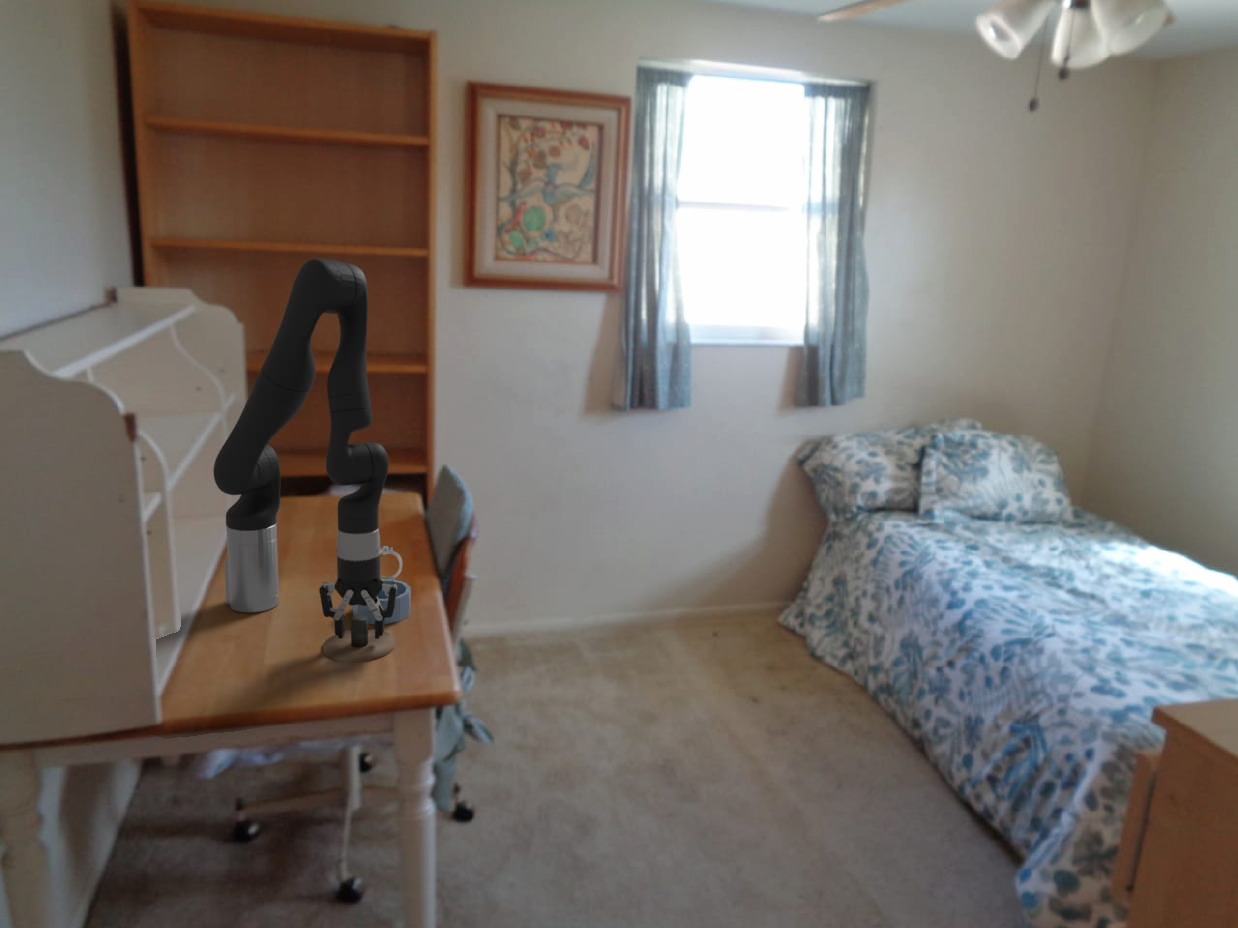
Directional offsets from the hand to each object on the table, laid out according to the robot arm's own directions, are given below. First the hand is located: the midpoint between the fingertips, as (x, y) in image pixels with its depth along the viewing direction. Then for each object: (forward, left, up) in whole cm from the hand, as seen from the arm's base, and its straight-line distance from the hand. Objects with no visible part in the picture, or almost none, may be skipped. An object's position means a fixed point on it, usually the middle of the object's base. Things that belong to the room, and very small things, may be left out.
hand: (359, 636), depth 160 cm
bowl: (-6, +14, -2) cm, 15 cm away
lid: (0, 0, -2) cm, 2 cm away
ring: (-16, +28, -2) cm, 32 cm away
